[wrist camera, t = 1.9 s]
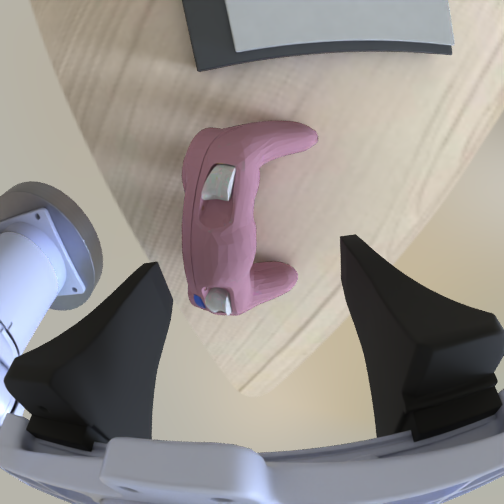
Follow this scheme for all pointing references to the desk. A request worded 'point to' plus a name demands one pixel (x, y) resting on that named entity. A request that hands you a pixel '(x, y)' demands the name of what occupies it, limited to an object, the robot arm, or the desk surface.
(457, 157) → the desk surface
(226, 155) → the video game controller
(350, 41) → the scale
